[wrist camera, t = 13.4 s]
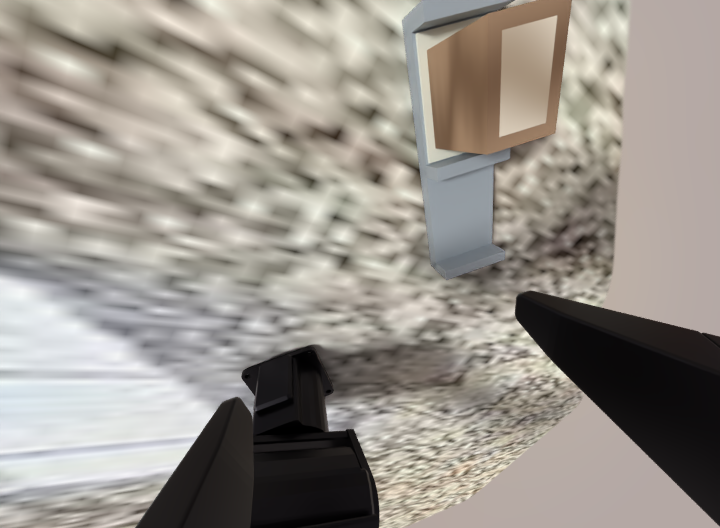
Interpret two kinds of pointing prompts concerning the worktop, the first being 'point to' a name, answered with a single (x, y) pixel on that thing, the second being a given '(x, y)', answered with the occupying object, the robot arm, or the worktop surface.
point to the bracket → (446, 167)
